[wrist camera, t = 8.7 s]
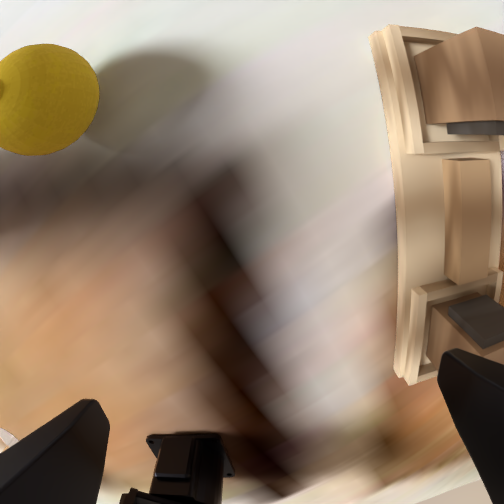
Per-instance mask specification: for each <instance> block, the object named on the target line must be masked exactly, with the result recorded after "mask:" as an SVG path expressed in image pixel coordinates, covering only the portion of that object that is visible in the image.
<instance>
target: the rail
mask: <svg viewBox="0 0 504 504" xmlns="http://www.w3.org/2000/svg"><path fill="white" fill-rule="evenodd" d="M456 35H459V34H454V33H448V32H442V31H436V30H429V29H422V28H413V27H404V26H399V25H390V24H389V25H388V26H386V27H385V28H384V29H383V30H382V31H375V32H374V33H372V34H371V35H370V36H369V37H368V38H369V42H370V46H371V50H372V54H373V58H374V62H375V67H376V71H377V76H378V80H379V85H380V90H381V95H382V101H383V106H384V112H385V118H386V124H387V131H388V138H389V145H390V153H391V161H392V170H393V180H394V191H395V204H396V220H397V243H398V303H397V326H396V342H395V355H394V366H393V369H394V371H395V372H396V374H397V376H398V377H399V378H401V377H404V378H405V380H406V382H407V383H408V385H409V386H410V385H413V384H416V383H418V382H421V381H424V380H427V379H430V378H433V377H436V376H438V371H439V366H440V361H441V356H442V354H443V352H445V351H447V350H450V349H453V348H459V349H462V350H465V351H467V352H470V353H473V354H476V355H478V356H481V357H484V358H487V359H490V360H492V361H495V362H498V363H501V364H504V307H502V306H501V305H500V304H499V300H500V293H501V287H502V280H503V271H501V270H500V269H498V268H499V258H500V246H501V229H502V172H501V156H500V150H504V135H463V134H447V126H446V124H426V120H425V114H424V107H423V101H422V96H421V90H420V85H419V80H418V75H417V71H416V66H415V62H414V57H413V56H415V55H417V54H419V53H421V52H423V51H425V50H427V49H429V48H431V47H433V46H435V45H437V44H439V43H441V42H443V41H446V40H448V39H450V38H452V37H454V36H456Z"/></svg>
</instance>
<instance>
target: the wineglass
mask: <svg viewBox="0 0 504 504" xmlns="http://www.w3.org/2000/svg"><path fill="white" fill-rule="evenodd" d="M0 438H1V440H2V441H3V442H4V443H5V444H6V445H7V446H6V447H5V449H4V450H3V451H5V450H6V449H8V448H9V447H11V446H13V445H14V444H16V443H17V442H19V440H18V439H16V438H15V437H14V436H13V435H12V434H10V433H9V432H7V431H6V430H4V429H2V428H0ZM3 451H2V452H3Z"/></svg>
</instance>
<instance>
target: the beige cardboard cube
mask: <svg viewBox="0 0 504 504" xmlns="http://www.w3.org/2000/svg"><path fill="white" fill-rule="evenodd" d="M413 57H414V62H415V66H416V71H417V75H418V80H419V85H420V90H421V96H422V101H423V107H424V114H425V120H426V124H446V126H447V134H463V135H504V35H503V34H499V33H496V32H493V31H489V30H486V29H482V28H479V27H474V28H472V29H470V30H468V31H465V32H463V33H461V34H459V35H456V36H454V37H452V38H450V39H448V40H446V41H443V42H441V43H439V44H437V45H435V46H433V47H431V48H429V49H427V50H425V51H423V52H421V53H419V54H417V55H415V56H413Z"/></svg>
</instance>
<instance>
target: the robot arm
mask: <svg viewBox="0 0 504 504" xmlns="http://www.w3.org/2000/svg"><path fill="white" fill-rule="evenodd" d="M437 381H438V385H439V387H440V390H441V392H442V394H443V397H444V399H445V402H446V404H447V407H448V409H449V412H450V414H451V417H452V419H453V422H454V424H455V426H456V429H457V431H458V433H459V435H460V437H461V438H462V440H463V442H464V444H465V446H466V448H467V450H468V452H469V454H470V456H471V458H472V460H473V462H474V464H475V466H476V468H477V470H478V472H479V475H480V477H481V479H482V481H483V483H484V485H485V487H486V490H487V492H488V494H489V496H490V499H491V501H492V503H493V504H504V364H501V363H498V362H495V361H492V360H490V359H487V358H484V357H481V356H478V355H476V354H473V353H470V352H467V351H465V350H462V349H459V348H453V349H450V350H447V351H445V352H443V354H442V356H441V361H440V366H439V371H438V376H437ZM109 431H110V424H109V420H108V419H107V417H106V415H105V413H104V411H103V410H102V408H101V406H100V404H99V402H98V401H97V400H94V399H82V400H80V401H79V402H77V403H76V404H74V405H73V406H71V407H70V408H68V409H67V410H65V411H64V412H62V413H61V414H59V415H58V416H56V417H55V418H53V419H52V420H50V421H49V422H47V423H46V424H44V425H43V426H41V427H40V428H38V429H37V430H35V431H34V432H32V433H31V434H29V435H28V436H26V437H25V438H23V439H22V440H20V441H19V442H17V443H16V444H14V445H13V446H11V447H9V448H8V449H6V450H5V451H3V452H2V453H0V504H96V502H97V497H98V493H99V489H100V485H101V481H102V476H103V471H104V465H105V457H106V450H107V444H108V437H109ZM146 442H147V444H148V445H149V447H150V449H151V450H152V452H153V453H154V455H155V456H156V458H157V461H156V465H155V469H154V475H153V479H152V483H151V487H150V491H149V494H148V493H144V492H141V491H138V489H134V488H131V489H130V492H129V493H127V494H122V496H121V499H120V503H119V504H221V502H222V488H223V478H224V477H233V476H235V470H234V468H233V466H232V463H231V461H230V459H229V456H228V454H227V451H226V449H225V447H224V444H223V442H222V439H221V437H220V436H219V435H216V434H206V435H149V436H147V439H146Z"/></svg>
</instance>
